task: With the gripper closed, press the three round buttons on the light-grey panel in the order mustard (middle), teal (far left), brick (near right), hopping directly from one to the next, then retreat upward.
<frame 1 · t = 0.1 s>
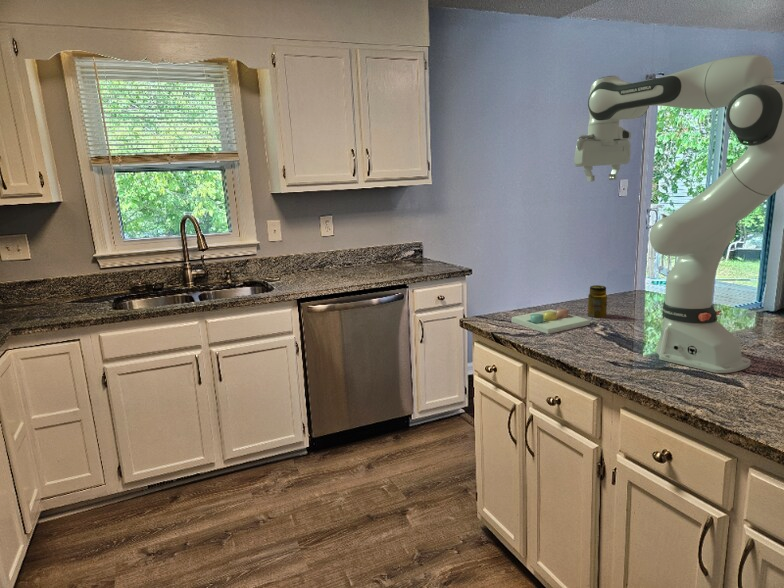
hand: (601, 180, 159), 48 cm above the worktop, fingers open, 8 cm apart
button mustard: (549, 317, 173), point 3 cm above the worktop, slide at 0.0 cm
condiment: (595, 321, 179), on the worktop
panel: (549, 327, 174), on the worktop
button teal: (537, 320, 171), point 3 cm above the worktop, slide at 0.0 cm
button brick: (562, 315, 175), point 3 cm above the worktop, slide at 0.0 cm
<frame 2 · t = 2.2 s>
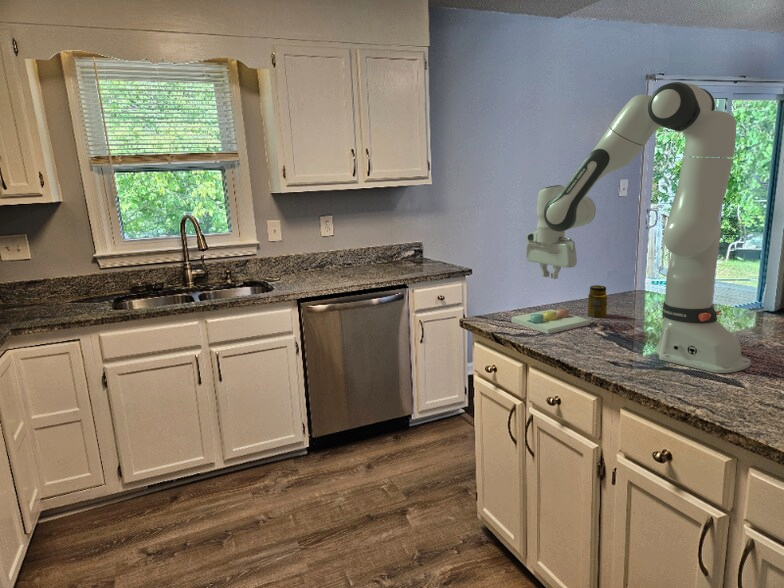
hand: (550, 277, 170), 17 cm above the worktop, fingers open, 3 cm apart
nothing on the worktop moved.
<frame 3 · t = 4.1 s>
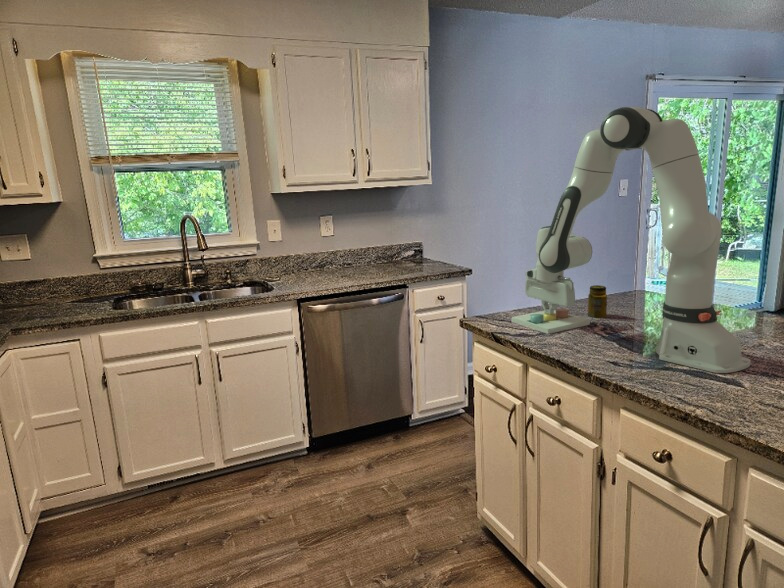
hand: (548, 314, 173), 5 cm above the worktop, fingers closed, pressing on button mustard
button mustard: (549, 319, 173), point 3 cm above the worktop, slide at -0.5 cm, touching gripper
everything else where it was.
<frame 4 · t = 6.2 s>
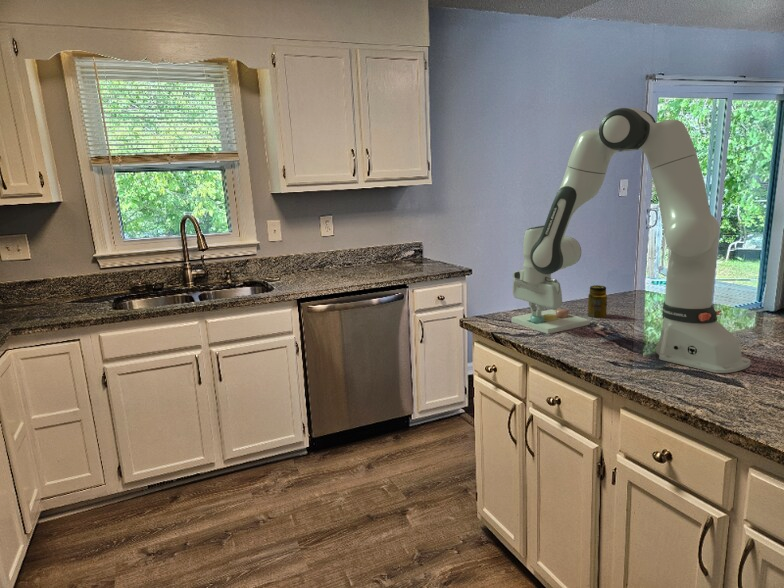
hand: (536, 316, 171), 5 cm above the worktop, fingers closed, pressing on button teal
button mustard: (549, 320, 173), point 2 cm above the worktop, slide at -1.0 cm
button teal: (537, 321, 171), point 3 cm above the worktop, slide at -0.2 cm, touching gripper
everything else where it was.
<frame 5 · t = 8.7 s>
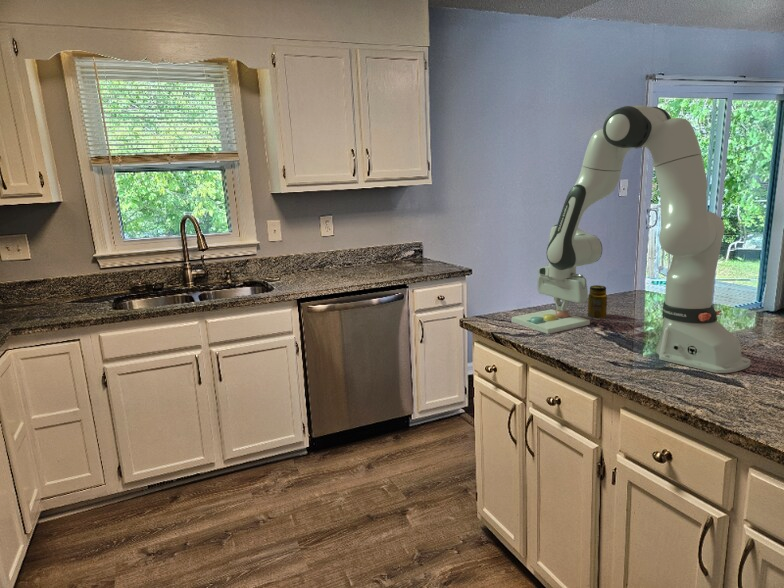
hand: (561, 310, 175), 5 cm above the worktop, fingers closed, pressing on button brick
button teal: (536, 323, 171), point 2 cm above the worktop, slide at -1.0 cm
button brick: (562, 315, 175), point 3 cm above the worktop, slide at -0.2 cm, touching gripper
everything else where it was.
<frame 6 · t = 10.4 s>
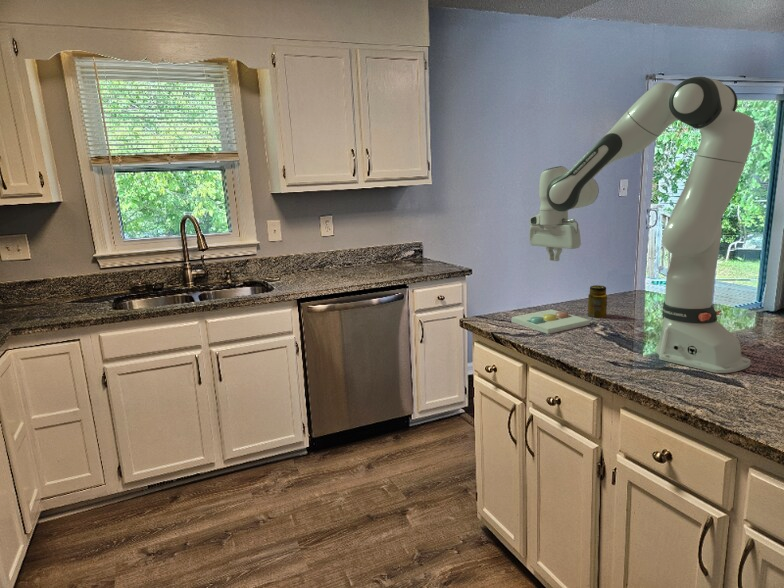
hand: (554, 260, 168), 23 cm above the worktop, fingers closed
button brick: (561, 318, 176), point 2 cm above the worktop, slide at -1.0 cm
everything else where it was.
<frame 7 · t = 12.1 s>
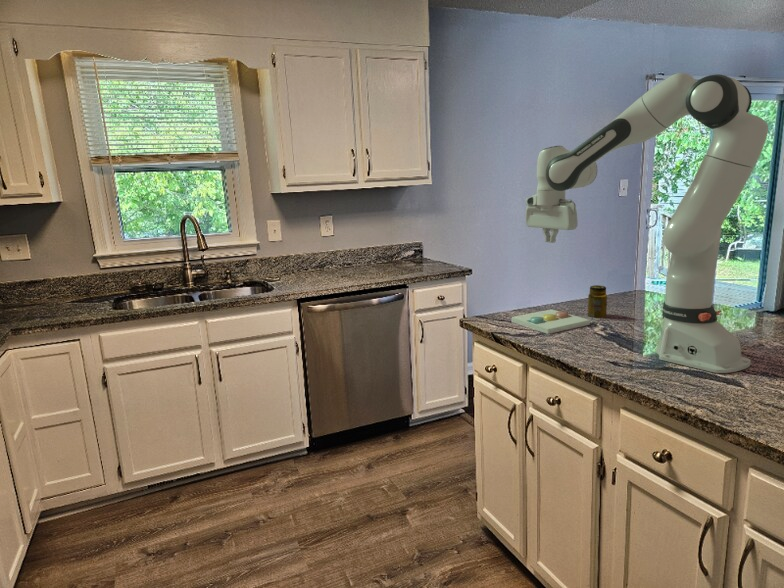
hand: (550, 242, 166), 29 cm above the worktop, fingers closed
nothing on the worktop moved.
at the end: button mustard slide at -1.0 cm; button teal slide at -1.0 cm; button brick slide at -1.0 cm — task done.
